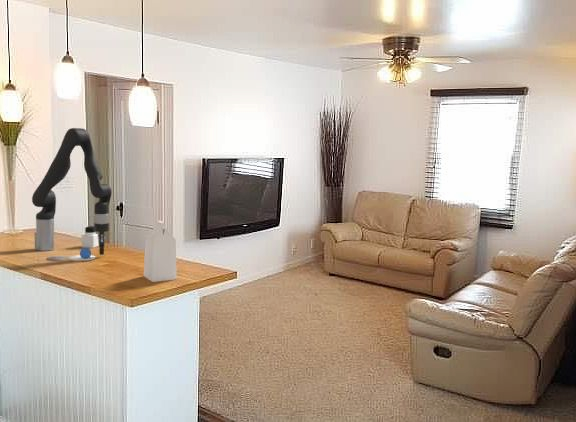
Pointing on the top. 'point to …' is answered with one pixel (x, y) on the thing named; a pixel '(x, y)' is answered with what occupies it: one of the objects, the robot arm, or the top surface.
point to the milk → (160, 255)
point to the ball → (85, 253)
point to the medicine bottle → (90, 238)
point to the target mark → (80, 258)
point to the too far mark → (56, 258)
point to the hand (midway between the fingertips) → (101, 254)
